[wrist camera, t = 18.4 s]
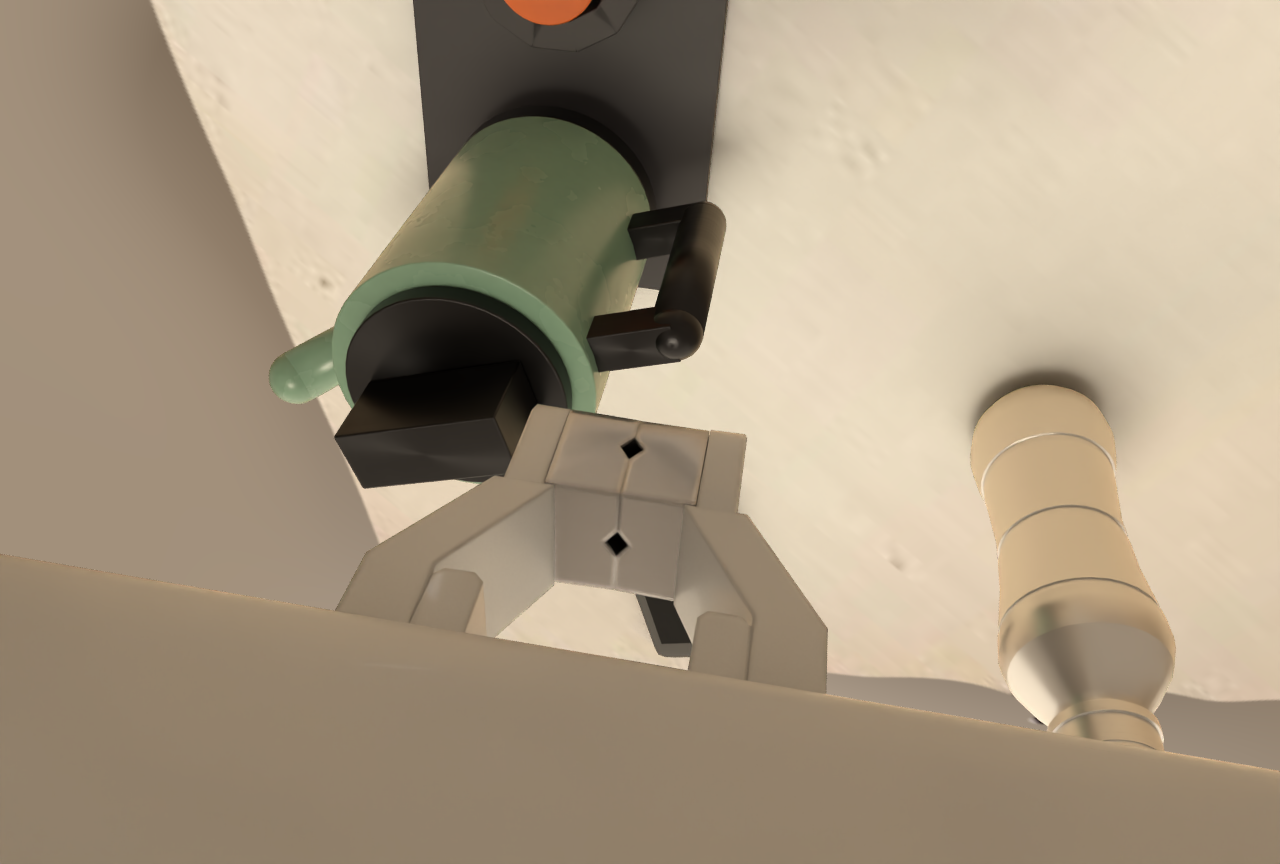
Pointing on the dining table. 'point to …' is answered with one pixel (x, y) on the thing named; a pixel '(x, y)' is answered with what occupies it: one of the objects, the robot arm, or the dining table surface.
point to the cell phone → (665, 627)
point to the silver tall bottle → (1069, 571)
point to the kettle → (507, 301)
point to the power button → (548, 10)
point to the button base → (581, 81)
